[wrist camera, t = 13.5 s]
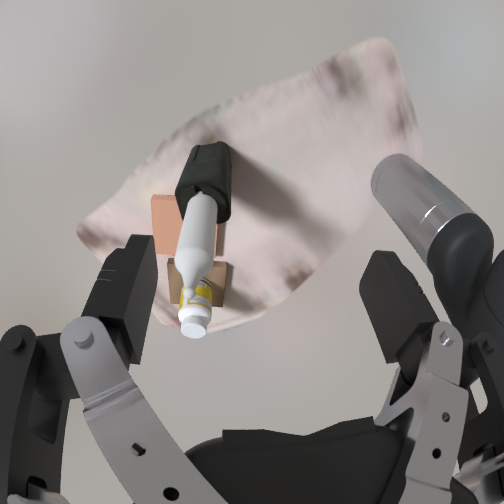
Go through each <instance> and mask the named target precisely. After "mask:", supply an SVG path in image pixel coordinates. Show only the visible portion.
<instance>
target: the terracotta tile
mask: <svg viewBox="0 0 504 504" xmlns="http://www.w3.org/2000/svg"><path fill="white" fill-rule="evenodd" d="M151 211H152V226H153V237H154V242H155V251H156V254H167V255H175V254H176V249H177V245H178V241H179V237H180V233H181V229H182V225H183V221H182V218H181V214H180V211H179V208H178V204H177V201H176V197H175V196H173V195H153V196H152V198H151ZM217 226H218V224H216V234H215V248H214V258H215V253H216V239H217Z"/></svg>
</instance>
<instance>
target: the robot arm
mask: <svg viewBox="0 0 504 504" xmlns="http://www.w3.org/2000/svg"><path fill="white" fill-rule="evenodd" d="M371 188H372V192H373V195H374V197H375V198H376V199H377V200H378V202H379V203H380V204H381V205H382V207H383V208H384V209H385V210H386V212H387V213H388V214H389V215H390V217H391V218H392V219H393V221H394V222H395V223H396V224H397V226H398V227H399V228H400V230H401V231H402V232H403V234H404V235H405V236H406V238H407V239H408V240H409V242H410V243H411V245H412V246H413V247H414V249H415V250H416V252H417V253H418V254H419V256H420V257H421V259H422V260H423V261H424V263H425V264H426V266H427V267H428V269H429V270H430V272H431V273H432V275H433V279H434V286H435V290H436V293H437V295H438V297H439V299H440V301H441V303H442V305H443V307H444V309H445V311H446V313H447V314H448V317H449V319H450V321H451V323H452V325H451V324H449V323H447V322H443V321H442V322H440V321H439V319H438V317H437V315H436V313H435V312H434V310H433V308H432V306H431V304H430V302H429V301H428V299H427V297H426V296H425V294H423V291H422V289H421V287H420V286H418V282H417V280H416V279H415V277H414V275H413V274H412V273H411V272H410V271H409V270H408V269H407V268H406V267H405V266H404V265H403V264H402V263H401V261H400V259H399V258H398V256H397V255H396V253H395V252H393V251H379V250H376V251H375V252H374V253H373V254H372V256H371V258H370V261H369V263H368V265H367V268H366V269H365V272H364V274H363V276H362V278H361V280H360V285H359V292H360V296H361V298H362V301H363V303H364V305H365V308H366V310H367V313H368V315H369V318H370V320H371V323H372V325H373V328H374V331H375V333H376V335H377V338H378V341H379V344H380V346H381V349H382V352H383V354H384V357H385V360H386V363H387V364H388V363H394V362H399V365H400V366H399V367H398V368H397V370H396V372H395V375H394V378H393V381H392V384H391V387H390V389H389V392H388V395H387V398H386V401H385V403H384V406H383V408H382V410H381V412H380V414H379V415H378V416H377V417H376V419H375V420H373V416H371V417H366V418H361V419H355V420H350V421H343V422H339V423H337V424H335V425H333V426H330V427H327V428H325V429H323V430H320V431H317V432H315V433H312V434H310V435H305V436H301V435H293V434H287V433H281V432H275V431H270V430H264V429H260V430H259V429H258V430H223V431H222V437H219V438H215V439H211V440H208V441H205V442H203V443H200V444H198V445H196V446H194V447H193V448H191V449H190V450H188V451H186V452H185V453H183V451H182V450H181V449H180V447H179V446H178V445H177V444H176V442H175V441H174V439H173V438H172V437H171V435H170V434H169V433H168V431H167V430H166V429H165V427H164V426H163V424H162V423H161V421H160V420H159V418H158V417H157V415H156V414H155V412H154V411H153V410H152V408H151V407H150V405H149V403H148V402H147V400H146V399H145V397H144V395H143V394H142V392H141V391H140V389H139V388H138V386H137V385H136V384H135V382H134V381H133V379H132V378H131V376H130V374H129V372H128V371H129V366H130V363H131V364H138V365H139V364H140V361H141V356H142V351H143V346H144V341H145V336H146V331H147V326H148V321H149V317H150V313H151V308H152V304H153V300H154V296H155V292H156V287H157V281H158V268H157V260H156V251H155V242H154V237H153V235H136V234H132V235H131V236H130V238H129V240H128V242H127V245H126V247H125V249H121V248H116V249H115V250H114V251H113V252H112V253H111V254H110V255H109V256H108V257H107V258H106V260H105V262H104V264H103V267H102V269H101V271H100V273H99V275H98V277H97V281H96V282H95V284H94V286H93V289H92V291H91V293H90V296H89V298H88V300H87V303H86V305H85V308H84V310H83V312H82V315H81V317H79V318H76V319H74V320H72V321H71V322H69V323H68V324H67V325H66V326H65V327H64V329H63V331H62V332H61V333H57V334H50V335H42V336H36V335H35V333H34V332H33V330H32V329H31V328H30V327H28V326H25V325H17V326H14V327H12V328H10V329H9V330H8V331H7V332H6V333H5V334H4V335H3V337H2V339H1V341H0V504H70V503H69V502H68V501H67V500H66V499H65V498H64V497H63V496H62V495H60V482H61V481H60V480H61V465H62V453H63V443H64V435H65V427H66V420H67V414H68V408H69V402H70V399H75V398H81V400H82V402H83V405H84V408H85V409H84V411H83V414H84V417H85V420H86V422H87V424H88V426H89V428H90V430H91V432H92V434H93V436H94V438H95V440H96V442H97V444H98V446H99V447H100V449H101V451H102V453H103V455H104V456H105V458H106V460H107V462H108V463H109V465H110V467H111V468H112V470H113V472H114V473H115V475H116V476H117V478H118V479H119V481H120V482H121V484H122V485H123V487H124V488H125V490H126V491H127V493H128V494H129V496H130V497H131V499H132V500H133V501H134V503H133V504H500V503H501V502H502V501H504V250H502V251H501V252H500V253H499V255H498V256H497V257H496V259H495V261H494V262H493V264H492V258H493V249H494V239H493V234H492V232H491V230H490V228H489V226H488V225H487V224H486V223H485V222H484V221H483V220H482V219H481V218H480V217H479V216H478V215H477V214H476V213H475V212H474V211H473V210H472V209H471V208H470V207H468V206H467V205H466V204H465V203H464V202H463V201H462V200H461V199H460V198H458V197H457V196H456V195H455V194H454V193H453V192H452V191H451V190H450V189H448V188H447V187H446V186H445V185H444V184H443V183H441V182H440V181H439V180H438V179H437V178H436V177H434V176H433V175H432V174H431V173H429V172H428V171H427V170H426V169H424V168H423V167H422V166H421V165H419V164H418V163H417V162H415V161H414V160H413V159H411V158H410V157H408V156H406V155H402V154H397V155H392V156H390V157H387V158H386V159H384V160H383V161H382V162H381V163H380V164H379V165H378V166H377V168H376V169H375V171H374V174H373V177H372V181H371ZM479 377H480V380H481V383H482V385H483V388H484V390H485V393H486V396H487V400H488V404H487V407H486V409H485V410H484V412H482V413H481V414H479V413H478V410H477V406H476V403H475V400H474V397H473V394H472V391H471V389H470V385H471V384H472V383H473V382H474V381H476V380H477V379H478V378H479ZM457 459H458V464H459V469H460V473H457V474H456V475H455V476H454V477H453V476H452V475H453V471H454V467H455V464H456V460H457Z"/></svg>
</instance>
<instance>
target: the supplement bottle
mask: <svg viewBox="0 0 504 504" xmlns="http://www.w3.org/2000/svg"><path fill="white" fill-rule="evenodd" d="M184 289H185V286H184V283H183V285H182V290H181V298H180V305H179V313H178V317H179V320H180V322H181V323H182V324H181V332H182V333H183V334H184V335H185V336H187V337H189V338H201V337H203V336H204V335H205V334H206V330H207V325H208V324H209V323H210V321H211V312H212V286H211V284H210V283H209V282H208V281H207V280H206V279H204V278H201V280H200V282H199V283H198V285H197V287H196V289H195V291H196V295H195V297H194V298H192V299H187V298H186V297H185V296H184V295H183V291H184Z"/></svg>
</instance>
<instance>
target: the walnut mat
mask: <svg viewBox="0 0 504 504" xmlns="http://www.w3.org/2000/svg"><path fill="white" fill-rule="evenodd" d="M174 259H175V258H169V259H168V263H167V268H168V280H169V291H170V301H171V304H180V298H181V290H182V285H183V283H184V282H183V278H182V275H181V273H180V272H179V271H178V270H177V268H176V266H175V262H174ZM226 268H227V262H218V261H214V262H213V267H212V269H211V271H210V272H209V273H208V274H207V275H205V276H204V277H202V278H204V279H206V280H207V281H208V282H209V283H210V284H211V286H212V307H223V299H224V289H225V278H226Z"/></svg>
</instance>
